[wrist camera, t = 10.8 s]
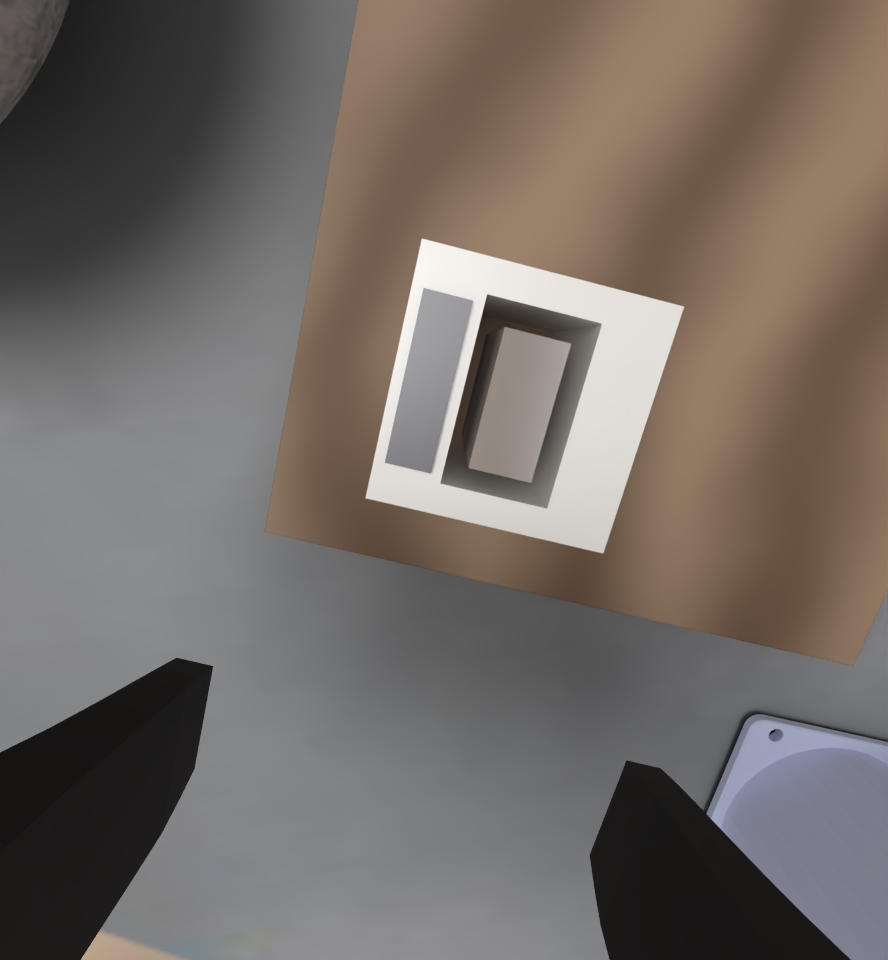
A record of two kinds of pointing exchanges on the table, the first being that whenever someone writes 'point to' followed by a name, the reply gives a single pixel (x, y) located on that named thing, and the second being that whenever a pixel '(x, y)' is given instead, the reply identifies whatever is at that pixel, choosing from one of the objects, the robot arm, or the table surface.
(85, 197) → the table surface
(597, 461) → the cube with recessed slot
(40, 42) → the grey concrete ball
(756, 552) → the base
